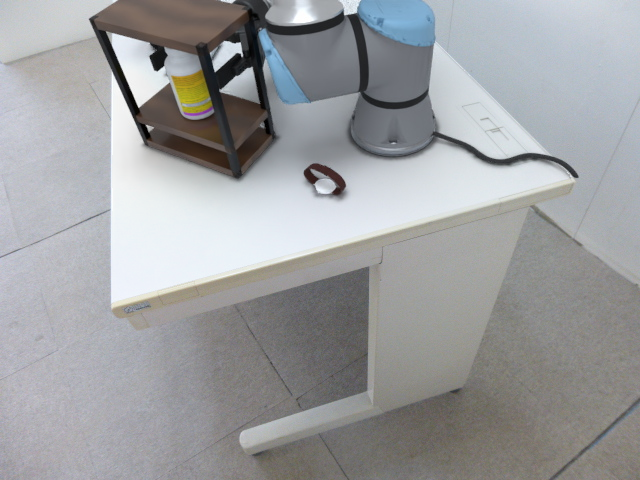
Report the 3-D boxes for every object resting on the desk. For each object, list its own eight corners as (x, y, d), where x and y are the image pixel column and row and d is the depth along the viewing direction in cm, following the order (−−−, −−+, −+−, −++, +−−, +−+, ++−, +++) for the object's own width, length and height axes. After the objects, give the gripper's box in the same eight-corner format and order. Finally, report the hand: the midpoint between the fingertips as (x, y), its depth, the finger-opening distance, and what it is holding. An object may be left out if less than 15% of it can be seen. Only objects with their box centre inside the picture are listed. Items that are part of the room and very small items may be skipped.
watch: (314, 171, 86) (302, 187, 85) (307, 155, 82) (294, 172, 81) (351, 189, 83) (338, 206, 82) (345, 173, 79) (332, 191, 78)
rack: (184, 108, 101) (142, -16, 82) (275, 137, 93) (251, 7, 74) (144, 144, 95) (88, 18, 76) (238, 178, 87) (201, 47, 68)
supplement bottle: (224, 111, 88) (206, 42, 78) (190, 126, 86) (167, 58, 76) (208, 93, 91) (188, 26, 81) (175, 108, 89) (150, 40, 79)
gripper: (316, 44, 91) (251, 110, 80) (208, 20, 100) (136, 76, 89) (312, 3, 85) (241, 68, 74) (198, -19, 94) (120, 36, 83)
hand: (184, 72), depth 82 cm, fingers open, 13 cm apart
